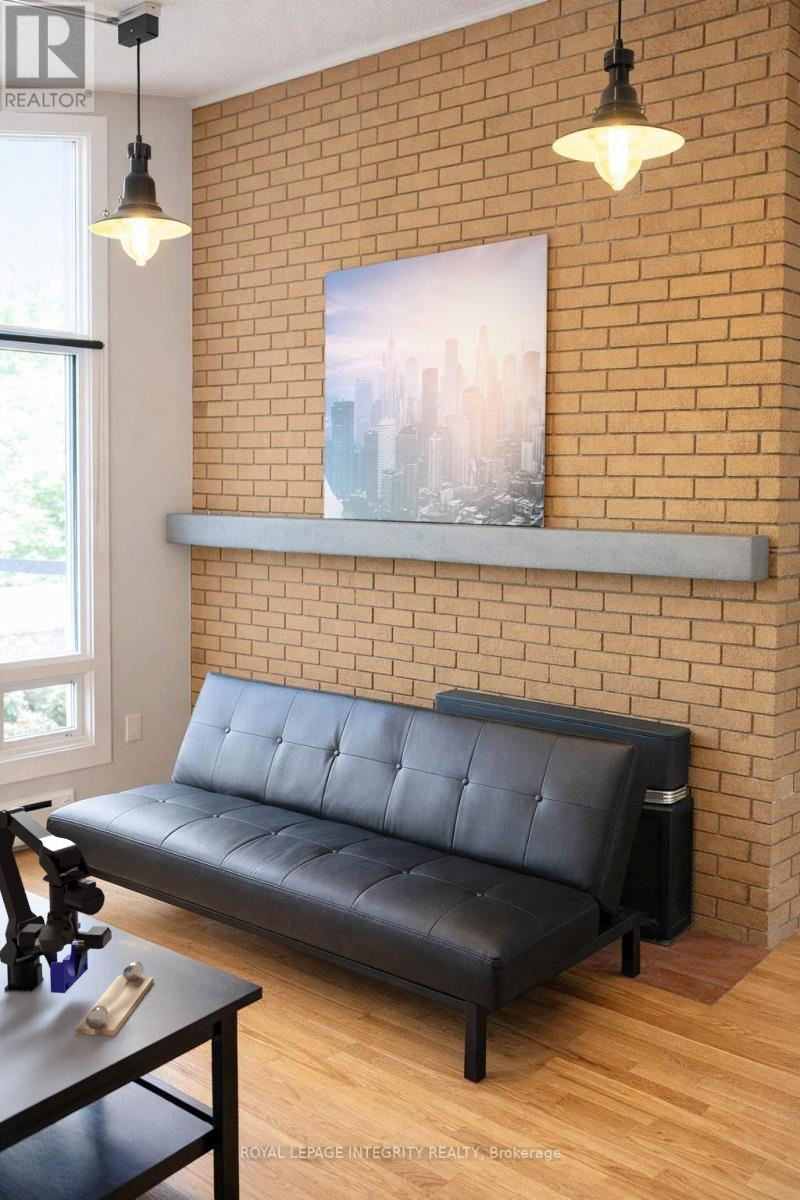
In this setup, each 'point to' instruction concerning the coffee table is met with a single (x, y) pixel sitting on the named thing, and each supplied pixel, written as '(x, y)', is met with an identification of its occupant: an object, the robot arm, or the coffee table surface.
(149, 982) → the light wooden board
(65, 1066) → the coffee table surface
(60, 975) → the cable clip
